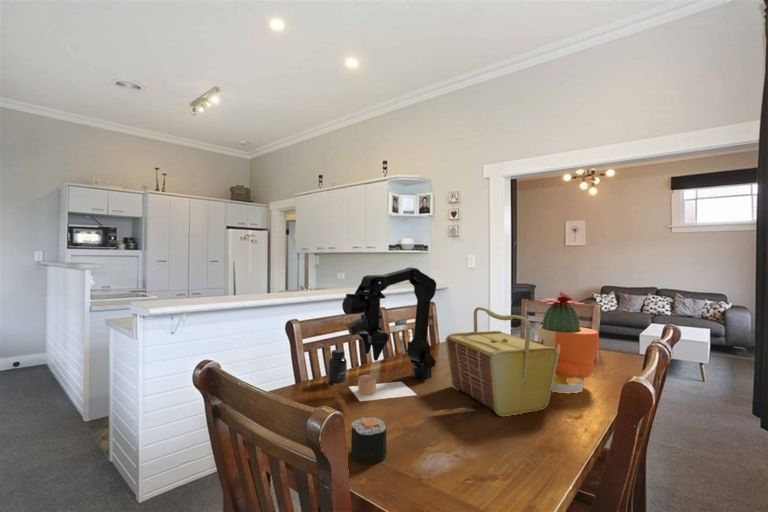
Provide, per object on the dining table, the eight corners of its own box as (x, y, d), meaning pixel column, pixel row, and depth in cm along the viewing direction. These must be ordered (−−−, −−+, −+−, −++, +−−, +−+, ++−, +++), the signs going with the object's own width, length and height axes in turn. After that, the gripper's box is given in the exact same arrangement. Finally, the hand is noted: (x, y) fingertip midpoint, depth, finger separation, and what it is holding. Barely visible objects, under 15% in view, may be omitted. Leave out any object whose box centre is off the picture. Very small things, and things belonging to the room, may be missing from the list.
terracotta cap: (372, 388, 134) (372, 374, 134) (377, 394, 129) (377, 379, 129) (356, 390, 132) (356, 375, 132) (361, 396, 127) (361, 380, 127)
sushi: (375, 443, 98) (376, 412, 98) (391, 459, 91) (392, 425, 91) (345, 450, 94) (346, 418, 94) (360, 467, 87) (361, 432, 87)
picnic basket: (442, 389, 139) (444, 306, 139) (500, 382, 149) (502, 304, 149) (492, 423, 112) (494, 320, 112) (560, 412, 121) (563, 317, 121)
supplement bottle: (342, 387, 139) (343, 353, 139) (325, 385, 140) (325, 352, 140) (348, 381, 146) (349, 349, 146) (331, 379, 147) (332, 348, 147)
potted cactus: (532, 389, 142) (534, 294, 142) (538, 373, 162) (541, 290, 162) (599, 400, 132) (601, 298, 132) (597, 382, 152) (599, 293, 152)
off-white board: (401, 385, 142) (401, 381, 142) (417, 399, 129) (417, 394, 129) (348, 390, 135) (348, 386, 135) (359, 405, 122) (359, 401, 122)
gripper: (342, 309, 139) (341, 352, 139) (357, 317, 122) (356, 366, 122) (371, 307, 143) (370, 349, 143) (390, 315, 126) (389, 363, 126)
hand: (371, 357), depth 133 cm, fingers open, 9 cm apart
